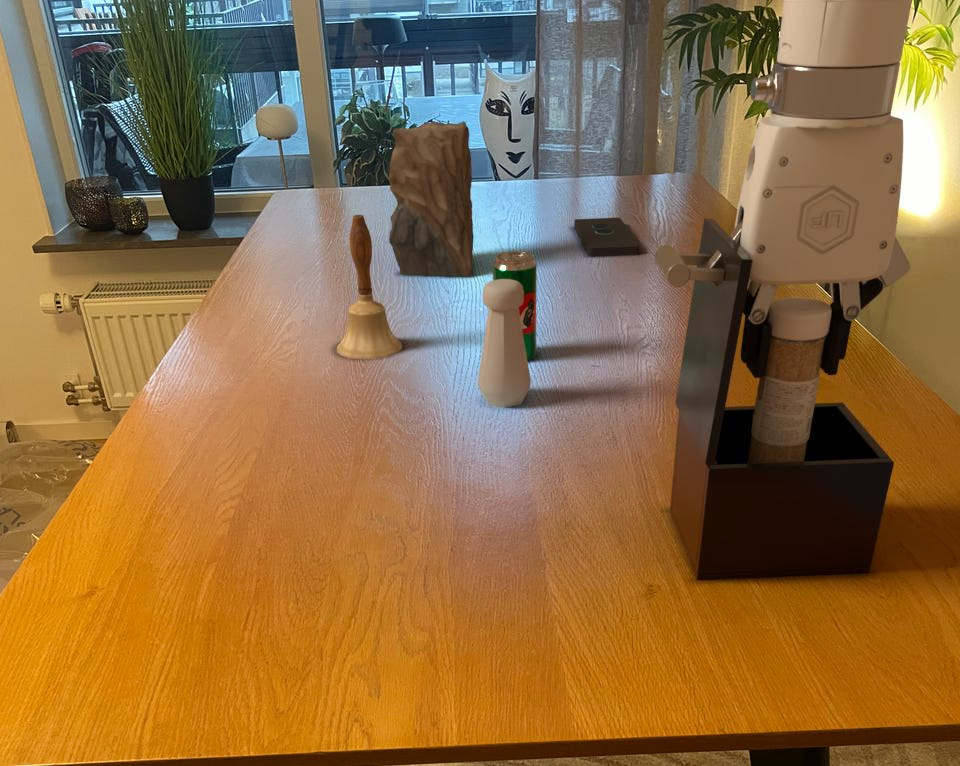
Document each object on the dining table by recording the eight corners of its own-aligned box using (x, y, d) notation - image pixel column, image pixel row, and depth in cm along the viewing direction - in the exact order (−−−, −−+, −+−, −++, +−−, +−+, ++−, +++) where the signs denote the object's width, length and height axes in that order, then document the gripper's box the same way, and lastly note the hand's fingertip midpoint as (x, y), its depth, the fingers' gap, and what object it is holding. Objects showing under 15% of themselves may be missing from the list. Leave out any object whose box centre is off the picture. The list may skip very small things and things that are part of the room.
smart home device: (620, 216, 174) (641, 245, 157) (620, 226, 175) (640, 256, 158) (572, 218, 173) (588, 247, 157) (572, 228, 174) (588, 258, 158)
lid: (713, 218, 74) (650, 216, 74) (753, 259, 65) (680, 257, 65) (683, 403, 82) (626, 402, 82) (714, 464, 73) (650, 463, 73)
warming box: (823, 507, 88) (843, 402, 83) (868, 576, 79) (894, 462, 73) (669, 514, 88) (678, 408, 83) (696, 583, 79) (709, 469, 73)
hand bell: (416, 348, 126) (407, 213, 117) (365, 366, 121) (352, 227, 112) (373, 334, 131) (362, 204, 122) (323, 351, 126) (307, 216, 117)
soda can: (539, 352, 123) (540, 250, 117) (532, 366, 119) (532, 262, 113) (499, 350, 124) (497, 249, 118) (490, 364, 120) (488, 261, 114)
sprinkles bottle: (758, 457, 83) (781, 291, 75) (812, 470, 80) (842, 300, 73) (735, 478, 80) (757, 307, 72) (791, 492, 77) (819, 317, 70)
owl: (389, 278, 152) (378, 132, 141) (411, 256, 162) (402, 118, 151) (471, 280, 150) (466, 132, 139) (487, 258, 160) (484, 118, 149)
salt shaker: (484, 415, 108) (480, 292, 100) (473, 395, 112) (469, 276, 105) (536, 409, 109) (537, 287, 101) (524, 390, 113) (523, 272, 106)
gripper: (714, 108, 61) (687, 393, 72) (989, 98, 62) (922, 384, 72) (689, 92, 68) (668, 357, 78) (939, 83, 68) (884, 349, 78)
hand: (790, 367), depth 75 cm, fingers closed on sprinkles bottle, 4 cm apart
